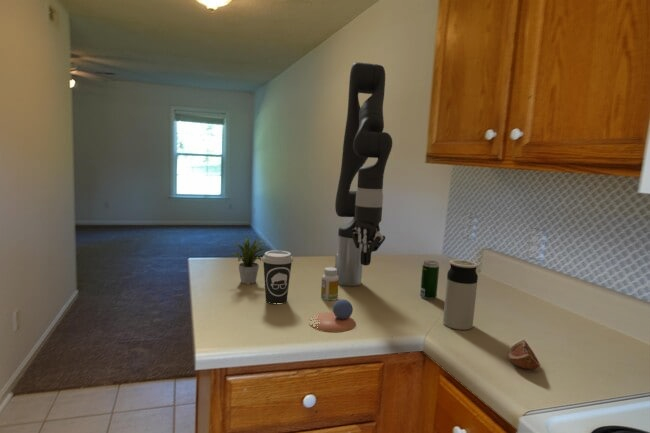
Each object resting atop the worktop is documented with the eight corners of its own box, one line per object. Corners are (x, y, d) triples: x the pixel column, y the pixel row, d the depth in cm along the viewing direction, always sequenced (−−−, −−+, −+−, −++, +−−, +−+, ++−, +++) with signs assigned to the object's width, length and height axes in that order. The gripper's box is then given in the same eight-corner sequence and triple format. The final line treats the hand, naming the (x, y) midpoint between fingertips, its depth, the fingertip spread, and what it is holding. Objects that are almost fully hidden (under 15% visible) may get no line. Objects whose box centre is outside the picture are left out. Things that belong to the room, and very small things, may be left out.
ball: (348, 299, 122) (343, 318, 122) (332, 295, 120) (327, 314, 119) (358, 304, 117) (353, 323, 117) (342, 300, 115) (336, 319, 114)
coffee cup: (297, 299, 133) (299, 252, 131) (281, 308, 124) (283, 259, 122) (271, 293, 137) (272, 248, 134) (254, 302, 128) (255, 254, 126)
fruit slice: (541, 379, 91) (544, 357, 90) (508, 372, 93) (510, 351, 92) (536, 361, 99) (539, 341, 98) (505, 356, 101) (507, 336, 100)
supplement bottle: (339, 296, 137) (341, 267, 135) (334, 302, 132) (336, 272, 130) (324, 294, 138) (325, 265, 137) (318, 299, 133) (319, 269, 132)
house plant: (256, 292, 138) (257, 243, 135) (219, 285, 142) (219, 238, 139) (275, 280, 151) (276, 235, 148) (240, 275, 155) (241, 231, 153)
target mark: (299, 318, 117) (299, 317, 117) (336, 310, 125) (336, 309, 125) (326, 336, 107) (326, 335, 107) (365, 325, 114) (365, 325, 114)
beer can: (428, 300, 137) (431, 265, 135) (416, 295, 141) (419, 261, 140) (439, 298, 140) (443, 263, 138) (427, 293, 144) (430, 259, 142)
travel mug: (468, 333, 113) (475, 268, 110) (439, 325, 117) (445, 262, 114) (475, 323, 119) (481, 262, 117) (447, 317, 124) (453, 257, 121)
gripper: (395, 207, 114) (391, 268, 117) (363, 201, 125) (360, 258, 127) (375, 208, 110) (370, 272, 113) (343, 201, 121) (340, 260, 123)
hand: (365, 264), depth 120 cm, fingers closed
